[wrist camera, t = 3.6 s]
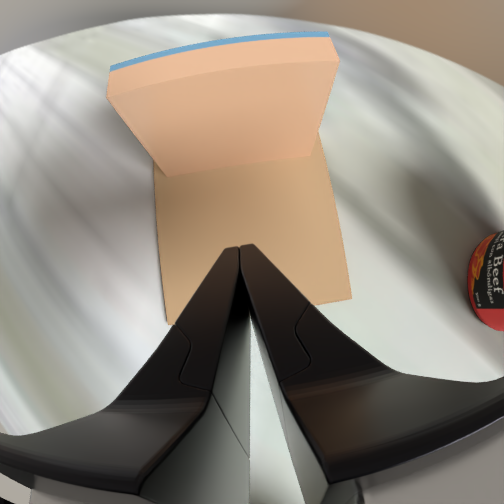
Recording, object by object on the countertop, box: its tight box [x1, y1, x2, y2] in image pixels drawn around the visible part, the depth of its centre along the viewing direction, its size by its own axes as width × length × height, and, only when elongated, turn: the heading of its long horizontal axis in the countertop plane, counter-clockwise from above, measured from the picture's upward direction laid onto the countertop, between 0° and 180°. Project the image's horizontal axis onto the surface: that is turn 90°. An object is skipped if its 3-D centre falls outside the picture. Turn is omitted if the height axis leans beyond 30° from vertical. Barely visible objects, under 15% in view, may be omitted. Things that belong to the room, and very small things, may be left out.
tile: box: [106, 32, 340, 177], centre depth 16 cm, size 2×10×10 cm, turn 98°
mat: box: [153, 132, 352, 325], centre depth 21 cm, size 12×12×1 cm
